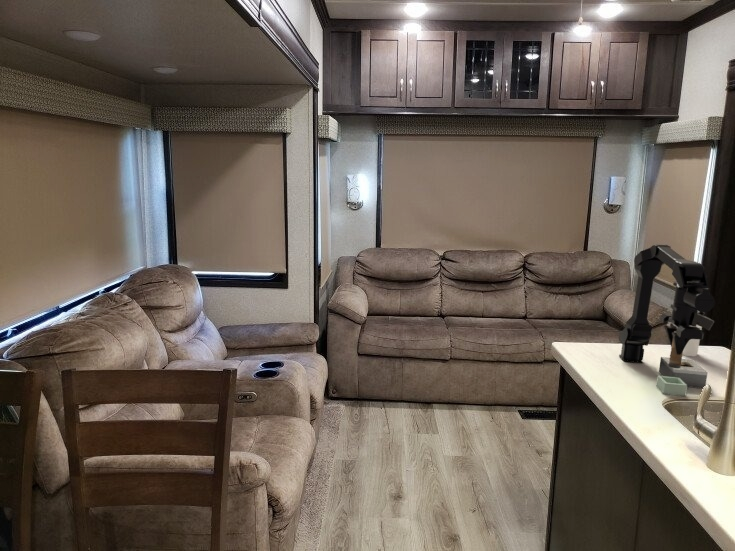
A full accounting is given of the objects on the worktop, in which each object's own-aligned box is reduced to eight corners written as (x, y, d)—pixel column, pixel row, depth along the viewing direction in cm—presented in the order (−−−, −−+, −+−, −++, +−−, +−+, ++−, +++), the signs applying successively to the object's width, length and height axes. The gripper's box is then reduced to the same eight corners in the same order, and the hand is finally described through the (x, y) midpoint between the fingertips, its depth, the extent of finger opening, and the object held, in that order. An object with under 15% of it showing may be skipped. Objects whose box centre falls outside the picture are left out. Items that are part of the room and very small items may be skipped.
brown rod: (670, 367, 173) (676, 333, 171) (667, 364, 177) (672, 330, 174) (681, 368, 173) (687, 334, 171) (678, 365, 176) (683, 331, 174)
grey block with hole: (671, 385, 181) (674, 369, 180) (658, 372, 192) (660, 356, 191) (704, 388, 179) (707, 372, 178) (689, 374, 191) (692, 359, 190)
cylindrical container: (699, 353, 214) (709, 289, 209) (694, 357, 209) (705, 292, 204) (678, 348, 219) (688, 286, 214) (673, 352, 214) (683, 288, 209)
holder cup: (663, 393, 174) (664, 383, 173) (656, 386, 180) (657, 375, 179) (685, 396, 173) (687, 385, 172) (677, 388, 179) (679, 377, 178)
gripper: (727, 313, 160) (718, 365, 164) (699, 298, 179) (692, 345, 182) (685, 310, 162) (677, 362, 165) (662, 295, 180) (655, 342, 183)
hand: (676, 352), depth 174 cm, fingers closed on brown rod, 3 cm apart
